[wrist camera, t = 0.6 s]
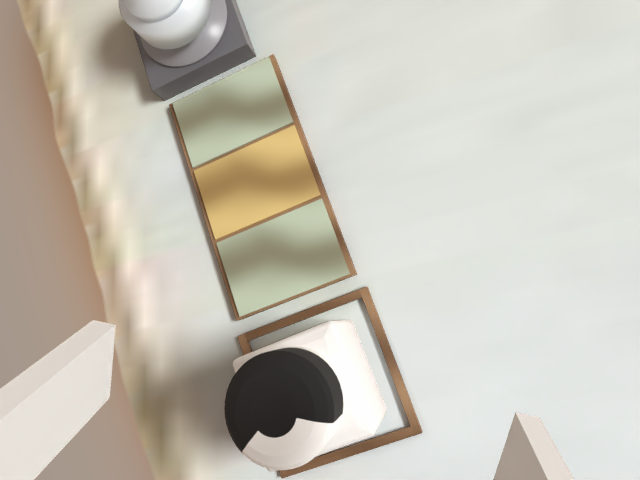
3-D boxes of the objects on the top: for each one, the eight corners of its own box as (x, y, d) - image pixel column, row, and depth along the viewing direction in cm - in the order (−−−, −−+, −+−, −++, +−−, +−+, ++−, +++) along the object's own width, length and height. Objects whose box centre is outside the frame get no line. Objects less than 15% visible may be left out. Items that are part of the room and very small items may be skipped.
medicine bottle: (267, 352, 38) (192, 369, 27) (352, 317, 37) (312, 320, 25) (299, 444, 37) (234, 505, 25) (389, 412, 35) (364, 459, 24)
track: (357, 274, 37) (355, 273, 37) (239, 320, 39) (235, 320, 38) (275, 57, 42) (272, 52, 41) (172, 107, 43) (167, 103, 42)
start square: (422, 431, 35) (422, 432, 34) (283, 476, 36) (281, 478, 36) (367, 286, 37) (366, 286, 37) (239, 336, 39) (237, 336, 38)
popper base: (256, 56, 42) (245, 41, 40) (164, 100, 44) (150, 89, 41) (225, -29, 44) (213, -47, 42) (138, 16, 45) (123, 1, 43)
